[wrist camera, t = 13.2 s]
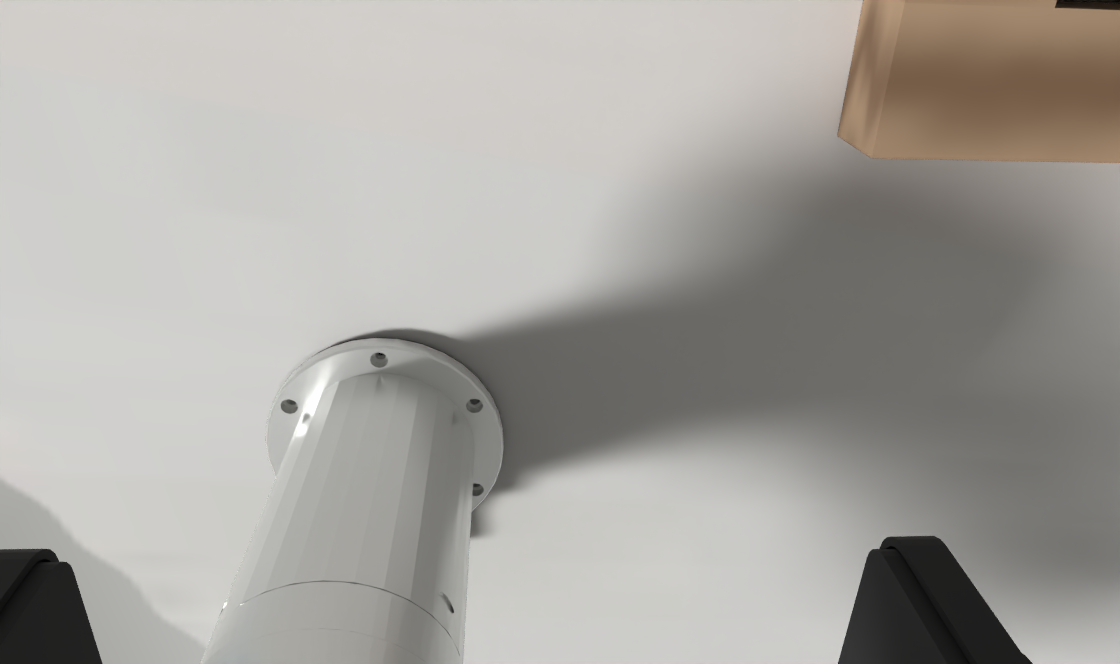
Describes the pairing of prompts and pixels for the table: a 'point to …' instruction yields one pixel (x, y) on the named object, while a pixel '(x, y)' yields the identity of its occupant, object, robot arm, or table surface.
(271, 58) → the table surface
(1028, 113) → the socket
